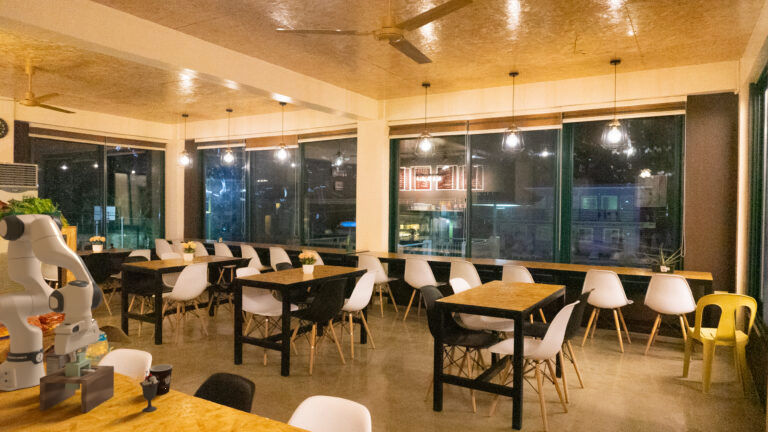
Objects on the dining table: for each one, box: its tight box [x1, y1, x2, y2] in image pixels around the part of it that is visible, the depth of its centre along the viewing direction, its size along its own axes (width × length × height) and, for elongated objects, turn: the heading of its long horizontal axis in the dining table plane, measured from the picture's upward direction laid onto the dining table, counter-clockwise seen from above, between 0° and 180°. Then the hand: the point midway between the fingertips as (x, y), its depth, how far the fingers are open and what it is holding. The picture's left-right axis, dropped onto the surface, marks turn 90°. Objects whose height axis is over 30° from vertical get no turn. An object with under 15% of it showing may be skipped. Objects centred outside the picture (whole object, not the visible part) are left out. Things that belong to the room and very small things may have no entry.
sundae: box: [139, 370, 160, 413], centre depth 182 cm, size 7×7×15 cm
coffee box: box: [45, 350, 78, 375], centre depth 198 cm, size 9×6×16 cm
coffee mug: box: [148, 363, 173, 396], centre depth 198 cm, size 12×9×10 cm
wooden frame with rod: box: [39, 364, 115, 414], centre depth 187 cm, size 18×16×13 cm
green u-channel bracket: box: [65, 351, 92, 391], centre depth 187 cm, size 5×7×12 cm
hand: (78, 359), depth 187 cm, fingers closed on green u-channel bracket, 3 cm apart
